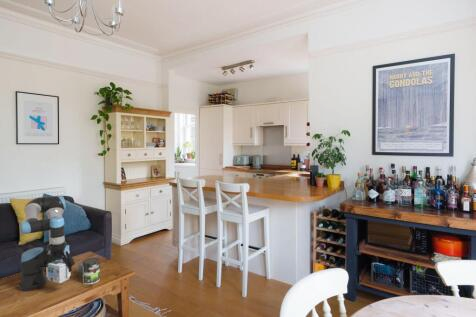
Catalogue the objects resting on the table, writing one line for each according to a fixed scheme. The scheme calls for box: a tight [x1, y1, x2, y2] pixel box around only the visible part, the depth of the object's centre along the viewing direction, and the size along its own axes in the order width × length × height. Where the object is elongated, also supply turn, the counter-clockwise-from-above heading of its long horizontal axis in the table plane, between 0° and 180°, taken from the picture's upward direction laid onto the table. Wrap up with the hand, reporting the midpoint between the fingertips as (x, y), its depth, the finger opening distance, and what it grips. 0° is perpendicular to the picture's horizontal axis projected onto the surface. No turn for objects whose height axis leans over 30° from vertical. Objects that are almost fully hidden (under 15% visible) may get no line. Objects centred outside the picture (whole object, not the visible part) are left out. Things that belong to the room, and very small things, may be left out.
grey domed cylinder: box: [77, 262, 83, 277], centre depth 200 cm, size 5×5×8 cm
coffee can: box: [81, 257, 101, 285], centre depth 191 cm, size 10×10×14 cm
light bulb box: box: [47, 260, 70, 284], centre depth 177 cm, size 11×7×11 cm, turn 70°
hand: (58, 276), depth 177 cm, fingers closed on light bulb box, 12 cm apart
